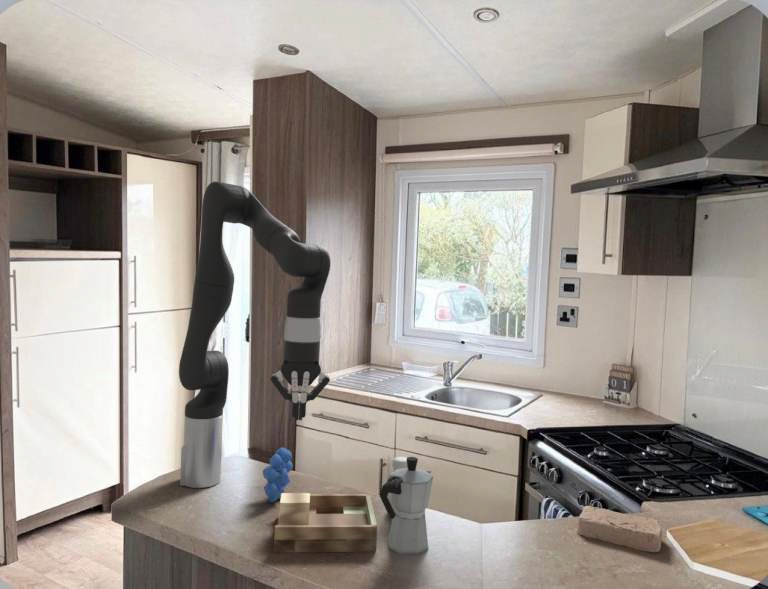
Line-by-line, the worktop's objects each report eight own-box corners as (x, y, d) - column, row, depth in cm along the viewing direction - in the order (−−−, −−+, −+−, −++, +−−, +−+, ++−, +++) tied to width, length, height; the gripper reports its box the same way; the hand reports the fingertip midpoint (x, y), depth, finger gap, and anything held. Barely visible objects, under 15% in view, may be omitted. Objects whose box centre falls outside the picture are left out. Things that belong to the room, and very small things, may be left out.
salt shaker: (381, 515, 127) (384, 459, 127) (393, 506, 132) (395, 452, 132) (404, 521, 124) (407, 464, 124) (415, 512, 130) (418, 457, 129)
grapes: (272, 487, 140) (274, 440, 140) (297, 491, 139) (299, 443, 138) (249, 505, 129) (251, 454, 129) (276, 509, 127) (278, 458, 127)
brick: (576, 535, 122) (577, 514, 122) (582, 521, 130) (583, 501, 129) (660, 557, 115) (661, 535, 114) (661, 541, 122) (663, 520, 122)
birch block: (279, 526, 114) (280, 502, 114) (280, 516, 119) (281, 492, 119) (308, 526, 114) (309, 502, 114) (309, 515, 119) (310, 493, 119)
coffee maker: (413, 527, 122) (417, 446, 121) (444, 543, 115) (449, 457, 115) (362, 549, 111) (366, 460, 110) (394, 567, 105) (398, 473, 104)
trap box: (273, 552, 108) (274, 527, 108) (279, 516, 124) (280, 494, 124) (376, 551, 111) (377, 526, 110) (368, 515, 127) (370, 494, 126)
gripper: (333, 337, 122) (329, 415, 123) (271, 334, 120) (268, 414, 121) (334, 341, 115) (330, 424, 116) (269, 339, 113) (265, 423, 114)
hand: (298, 419), depth 118 cm, fingers closed
